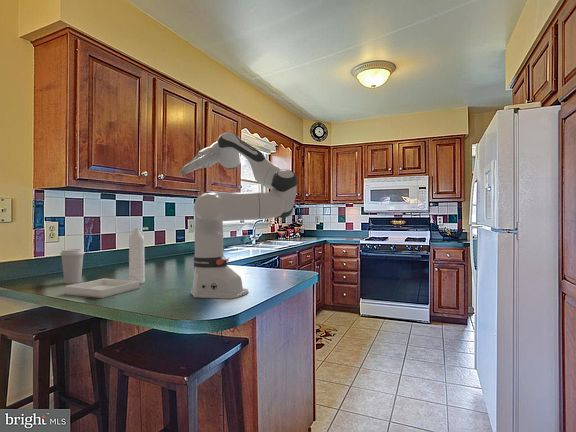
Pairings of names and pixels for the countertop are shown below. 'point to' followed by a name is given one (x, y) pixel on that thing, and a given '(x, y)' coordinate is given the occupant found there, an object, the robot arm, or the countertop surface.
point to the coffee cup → (72, 265)
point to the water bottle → (136, 256)
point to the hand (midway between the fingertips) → (183, 171)
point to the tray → (101, 288)
